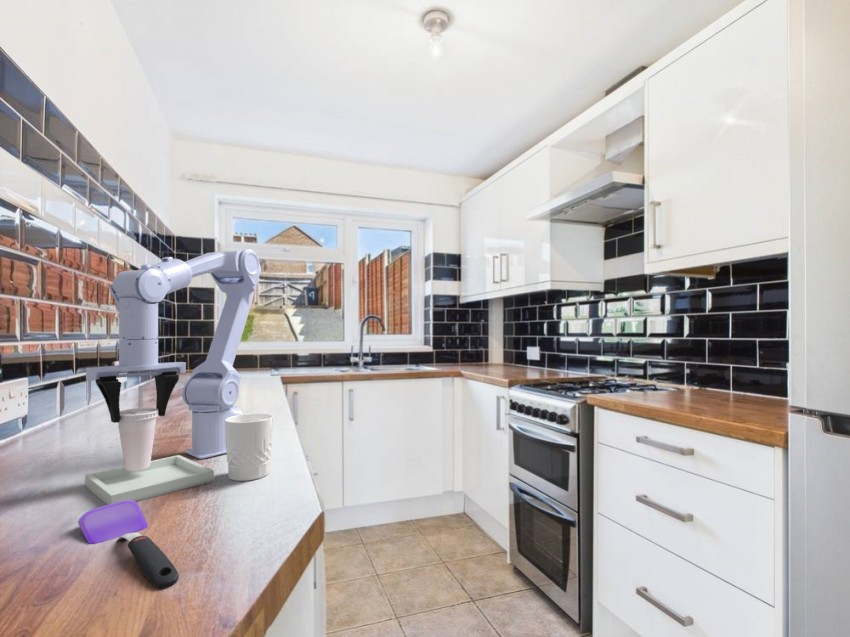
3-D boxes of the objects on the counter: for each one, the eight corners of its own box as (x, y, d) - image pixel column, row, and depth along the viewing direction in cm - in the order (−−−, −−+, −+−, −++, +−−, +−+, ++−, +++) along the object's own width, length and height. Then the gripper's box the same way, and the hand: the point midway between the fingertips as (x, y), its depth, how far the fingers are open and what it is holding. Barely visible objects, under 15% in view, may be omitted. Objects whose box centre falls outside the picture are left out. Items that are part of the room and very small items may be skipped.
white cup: (281, 474, 79) (281, 417, 79) (237, 486, 73) (236, 424, 73) (259, 465, 84) (259, 411, 84) (217, 475, 78) (217, 418, 79)
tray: (179, 464, 85) (179, 454, 85) (213, 481, 76) (213, 470, 76) (84, 485, 74) (84, 474, 74) (111, 508, 65) (111, 495, 65)
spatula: (203, 577, 47) (203, 554, 47) (128, 608, 42) (128, 581, 42) (134, 514, 63) (134, 497, 63) (74, 531, 58) (74, 512, 58)
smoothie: (139, 474, 74) (139, 390, 74) (105, 472, 75) (105, 388, 75) (167, 462, 80) (167, 384, 80) (136, 459, 81) (136, 382, 81)
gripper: (175, 338, 85) (175, 409, 85) (81, 340, 75) (81, 422, 74) (190, 338, 81) (190, 414, 81) (92, 340, 70) (92, 428, 70)
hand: (138, 418), depth 77 cm, fingers closed on smoothie, 6 cm apart
